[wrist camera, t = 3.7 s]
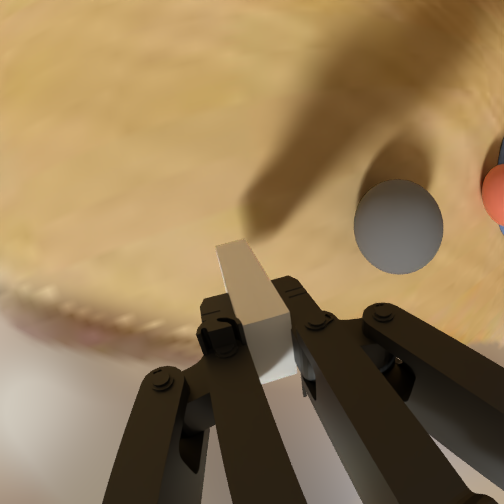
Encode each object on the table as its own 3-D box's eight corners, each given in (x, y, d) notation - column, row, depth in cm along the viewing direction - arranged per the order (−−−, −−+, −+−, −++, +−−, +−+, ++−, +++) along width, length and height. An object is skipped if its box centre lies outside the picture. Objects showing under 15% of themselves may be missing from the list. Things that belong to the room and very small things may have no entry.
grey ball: (403, 168, 17) (463, 184, 12) (403, 242, 20) (455, 274, 15) (333, 179, 17) (390, 199, 12) (339, 262, 19) (387, 304, 14)
